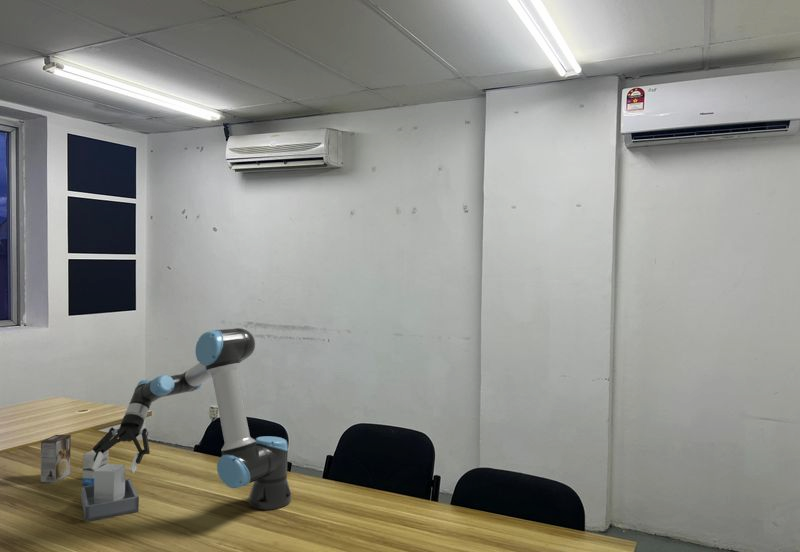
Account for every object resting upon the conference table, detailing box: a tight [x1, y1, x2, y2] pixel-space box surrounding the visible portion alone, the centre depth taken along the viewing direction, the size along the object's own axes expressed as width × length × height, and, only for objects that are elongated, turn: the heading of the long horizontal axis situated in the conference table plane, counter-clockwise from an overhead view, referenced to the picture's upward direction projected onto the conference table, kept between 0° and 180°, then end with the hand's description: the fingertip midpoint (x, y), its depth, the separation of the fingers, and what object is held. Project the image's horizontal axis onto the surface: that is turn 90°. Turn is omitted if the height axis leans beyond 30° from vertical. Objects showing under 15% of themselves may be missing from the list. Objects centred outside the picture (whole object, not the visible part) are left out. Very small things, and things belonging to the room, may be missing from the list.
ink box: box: [82, 449, 110, 486], centre depth 217 cm, size 9×5×12 cm, turn 168°
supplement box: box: [94, 463, 126, 504], centre depth 195 cm, size 7×7×13 cm
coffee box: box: [40, 434, 72, 483], centre depth 219 cm, size 9×6×16 cm
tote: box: [80, 478, 140, 523], centre depth 195 cm, size 20×16×5 cm
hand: (112, 471), depth 198 cm, fingers open, 13 cm apart
